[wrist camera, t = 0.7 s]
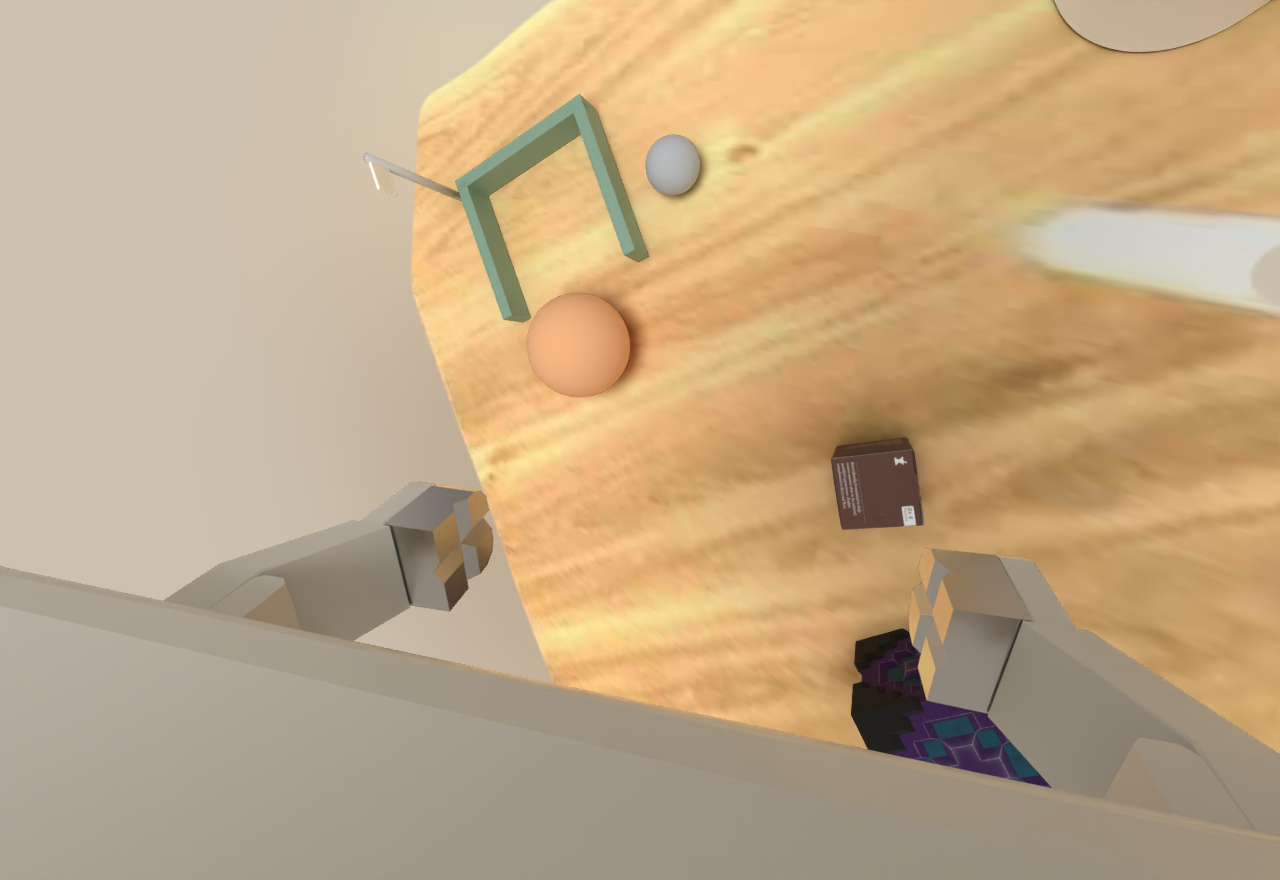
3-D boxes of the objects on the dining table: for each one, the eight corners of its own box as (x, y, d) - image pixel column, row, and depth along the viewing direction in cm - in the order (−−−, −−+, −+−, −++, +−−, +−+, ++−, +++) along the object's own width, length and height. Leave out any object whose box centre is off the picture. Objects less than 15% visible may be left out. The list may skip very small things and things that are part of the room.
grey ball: (669, 140, 52) (649, 118, 48) (715, 155, 51) (699, 134, 46) (649, 193, 54) (628, 176, 49) (693, 209, 52) (676, 193, 48)
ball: (580, 285, 58) (525, 269, 49) (660, 321, 55) (617, 311, 46) (549, 372, 61) (491, 372, 52) (624, 410, 58) (577, 418, 48)
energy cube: (855, 641, 51) (850, 714, 40) (993, 602, 46) (1030, 674, 35) (915, 761, 50) (927, 870, 39) (1061, 734, 45) (1121, 850, 34)
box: (835, 444, 50) (829, 456, 43) (908, 436, 47) (914, 447, 41) (844, 509, 50) (840, 531, 43) (917, 504, 48) (925, 527, 41)
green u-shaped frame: (648, 256, 55) (580, 221, 42) (511, 328, 62) (417, 316, 49) (596, 110, 55) (512, 30, 42) (466, 198, 62) (361, 153, 49)
